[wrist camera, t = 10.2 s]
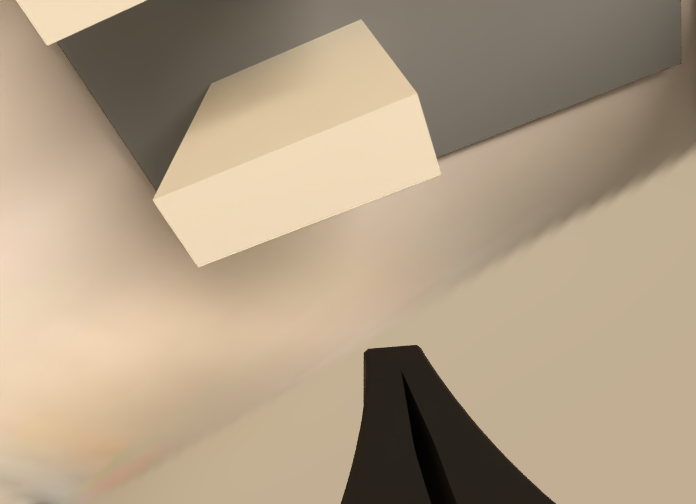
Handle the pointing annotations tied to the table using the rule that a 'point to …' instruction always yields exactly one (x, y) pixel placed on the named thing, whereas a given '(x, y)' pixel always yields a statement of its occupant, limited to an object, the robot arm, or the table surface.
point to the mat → (396, 39)
